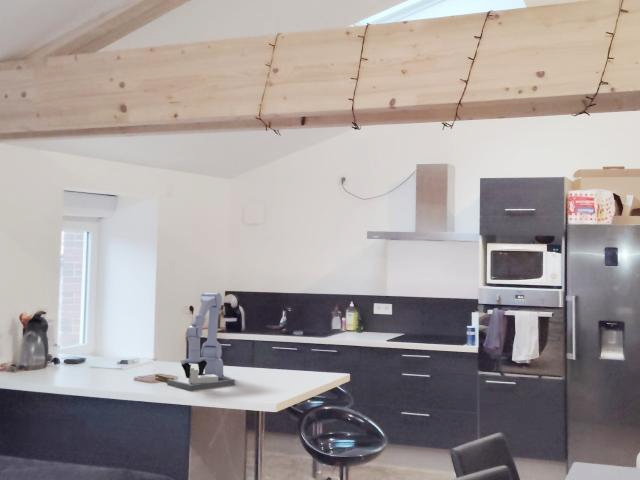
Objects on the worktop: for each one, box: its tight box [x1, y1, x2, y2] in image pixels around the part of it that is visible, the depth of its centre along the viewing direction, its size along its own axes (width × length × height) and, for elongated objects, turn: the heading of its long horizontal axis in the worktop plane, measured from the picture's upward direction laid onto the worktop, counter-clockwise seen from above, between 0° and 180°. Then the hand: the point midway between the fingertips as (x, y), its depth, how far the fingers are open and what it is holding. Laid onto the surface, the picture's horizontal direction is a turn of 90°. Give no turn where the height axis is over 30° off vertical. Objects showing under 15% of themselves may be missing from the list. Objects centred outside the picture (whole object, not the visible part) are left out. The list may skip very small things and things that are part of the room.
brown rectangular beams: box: [154, 371, 205, 383], centre depth 394 cm, size 20×16×2 cm
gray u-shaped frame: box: [166, 374, 236, 392], centre depth 379 cm, size 25×22×2 cm
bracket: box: [188, 367, 218, 385], centre depth 382 cm, size 13×7×8 cm, turn 117°
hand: (194, 376), depth 384 cm, fingers open, 7 cm apart
